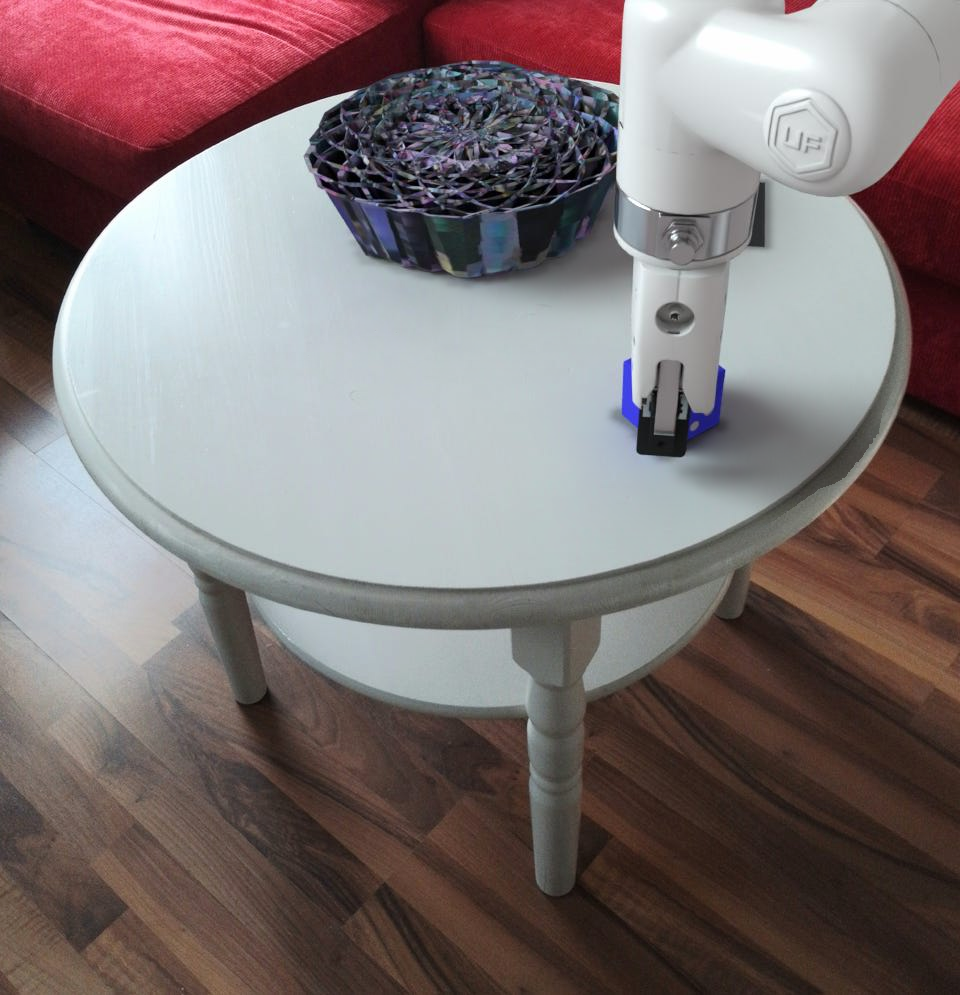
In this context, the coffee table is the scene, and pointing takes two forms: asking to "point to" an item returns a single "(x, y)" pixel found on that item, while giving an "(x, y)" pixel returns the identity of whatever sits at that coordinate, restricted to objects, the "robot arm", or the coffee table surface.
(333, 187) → the decorative bowl
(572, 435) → the coffee table surface
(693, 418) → the die
